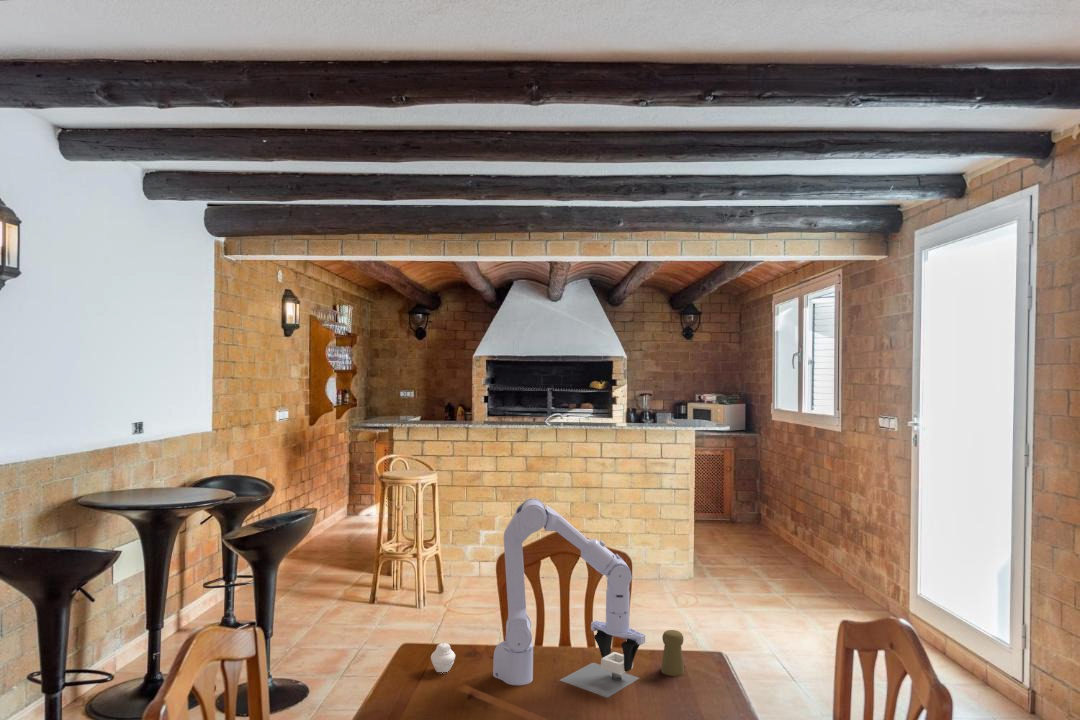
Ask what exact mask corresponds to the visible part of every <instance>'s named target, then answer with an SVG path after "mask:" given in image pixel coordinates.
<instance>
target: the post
mask: <svg viewBox="0 0 1080 720" xmlns="http://www.w3.org/2000/svg"><path fill="white" fill-rule="evenodd" d="M616 662H617V661H616ZM619 663H620V662H619ZM612 680H615V681H621V680H622V674H621V675H619V674H616V673H613V672H612Z"/></svg>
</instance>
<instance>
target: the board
mask: <svg viewBox="0 0 1080 720" xmlns="http://www.w3.org/2000/svg"><path fill="white" fill-rule="evenodd" d="M639 679H640V677H638V676H636V675H635V676H634V675H632V674H629V673H627V672H625V673H623V674H622V680H621V681H615V680H612V672H610V671H607V670H604V669H601V664H600V663H599V664H598V663H596V662H591V663H589V664H587V665H585V666H583V667H582V668H579V669H578V670H576V671H574V672H572V673H570V674H568V675H566V676H565V677H562V678H561V679H559V681H560V682H563V683H566V684H567V685H571V686H574V687H576V688H579V689H581V690H585V691H587V692H590V693H593V694H596V695H599V696H601V697H604V698H610V697H611V696H612V695H615V694H616V693H618V692H620V691H621V690H622V689H624V688H626V687H629V685H631V684H633V683H634V682H636V681H638V680H639Z"/></svg>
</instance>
